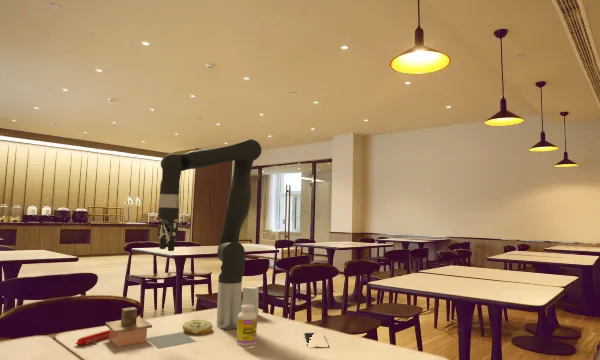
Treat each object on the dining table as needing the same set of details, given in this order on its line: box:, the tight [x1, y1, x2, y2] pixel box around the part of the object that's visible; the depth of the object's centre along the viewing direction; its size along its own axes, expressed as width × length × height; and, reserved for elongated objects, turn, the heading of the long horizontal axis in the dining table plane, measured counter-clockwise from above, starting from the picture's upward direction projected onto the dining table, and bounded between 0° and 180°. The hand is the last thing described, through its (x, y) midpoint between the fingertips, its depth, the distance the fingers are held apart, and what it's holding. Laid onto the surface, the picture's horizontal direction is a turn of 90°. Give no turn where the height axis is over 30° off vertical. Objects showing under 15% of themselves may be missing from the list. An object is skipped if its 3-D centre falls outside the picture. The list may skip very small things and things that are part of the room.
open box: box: [108, 328, 148, 347], centre depth 136 cm, size 10×10×5 cm
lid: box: [105, 306, 153, 333], centre depth 137 cm, size 12×12×6 cm
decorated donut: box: [182, 319, 214, 335], centre depth 149 cm, size 10×11×4 cm
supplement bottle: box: [236, 304, 258, 347], centre depth 137 cm, size 7×7×13 cm
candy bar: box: [75, 329, 110, 347], centre depth 137 cm, size 16×4×3 cm, turn 153°
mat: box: [146, 331, 197, 350], centre depth 137 cm, size 13×13×1 cm
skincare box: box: [242, 285, 259, 316], centre depth 175 cm, size 6×4×12 cm
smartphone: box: [303, 332, 315, 347], centre depth 141 cm, size 7×1×15 cm
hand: (166, 250), depth 149 cm, fingers open, 8 cm apart
